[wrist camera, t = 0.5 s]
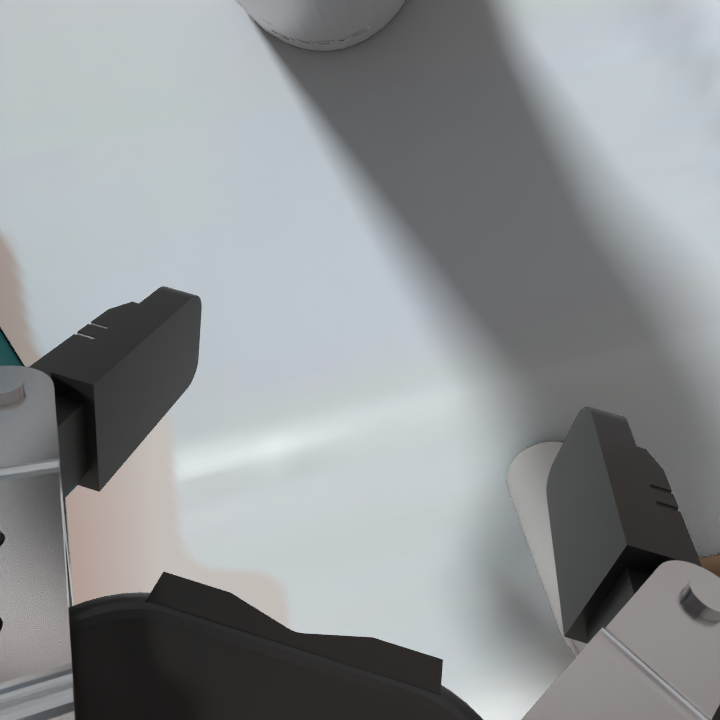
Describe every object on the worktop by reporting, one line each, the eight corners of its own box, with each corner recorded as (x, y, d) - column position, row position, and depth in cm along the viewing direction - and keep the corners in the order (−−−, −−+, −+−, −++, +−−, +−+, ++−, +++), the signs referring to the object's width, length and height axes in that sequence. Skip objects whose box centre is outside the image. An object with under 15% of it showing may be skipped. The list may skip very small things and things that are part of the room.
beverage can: (487, 477, 34) (537, 636, 22) (545, 420, 32) (629, 558, 21) (546, 522, 34) (624, 698, 23) (605, 468, 33) (719, 626, 22)
